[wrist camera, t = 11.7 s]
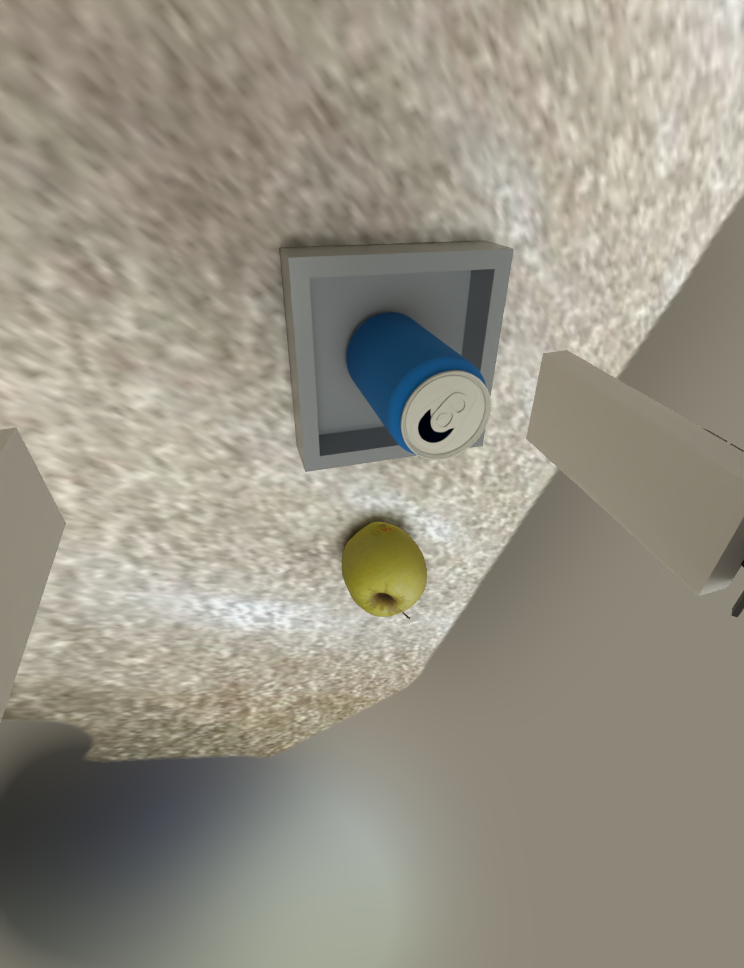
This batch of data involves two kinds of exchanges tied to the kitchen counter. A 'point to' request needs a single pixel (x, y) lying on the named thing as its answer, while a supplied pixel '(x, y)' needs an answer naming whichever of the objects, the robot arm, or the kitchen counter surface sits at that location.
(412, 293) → the bin
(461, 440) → the beverage can
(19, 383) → the kitchen counter surface
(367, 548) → the apple
